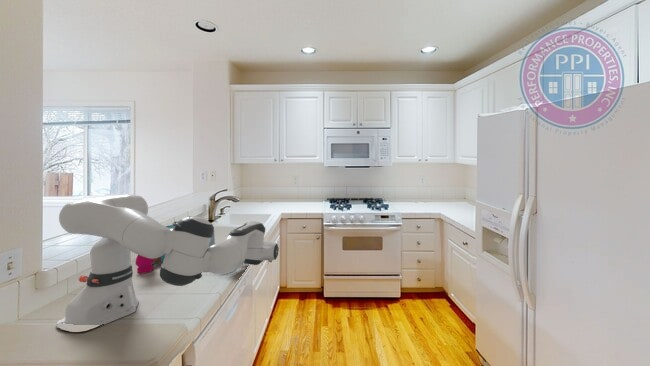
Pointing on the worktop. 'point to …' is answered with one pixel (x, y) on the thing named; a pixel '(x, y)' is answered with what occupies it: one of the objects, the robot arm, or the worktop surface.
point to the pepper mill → (144, 264)
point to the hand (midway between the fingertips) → (223, 246)
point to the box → (212, 240)
